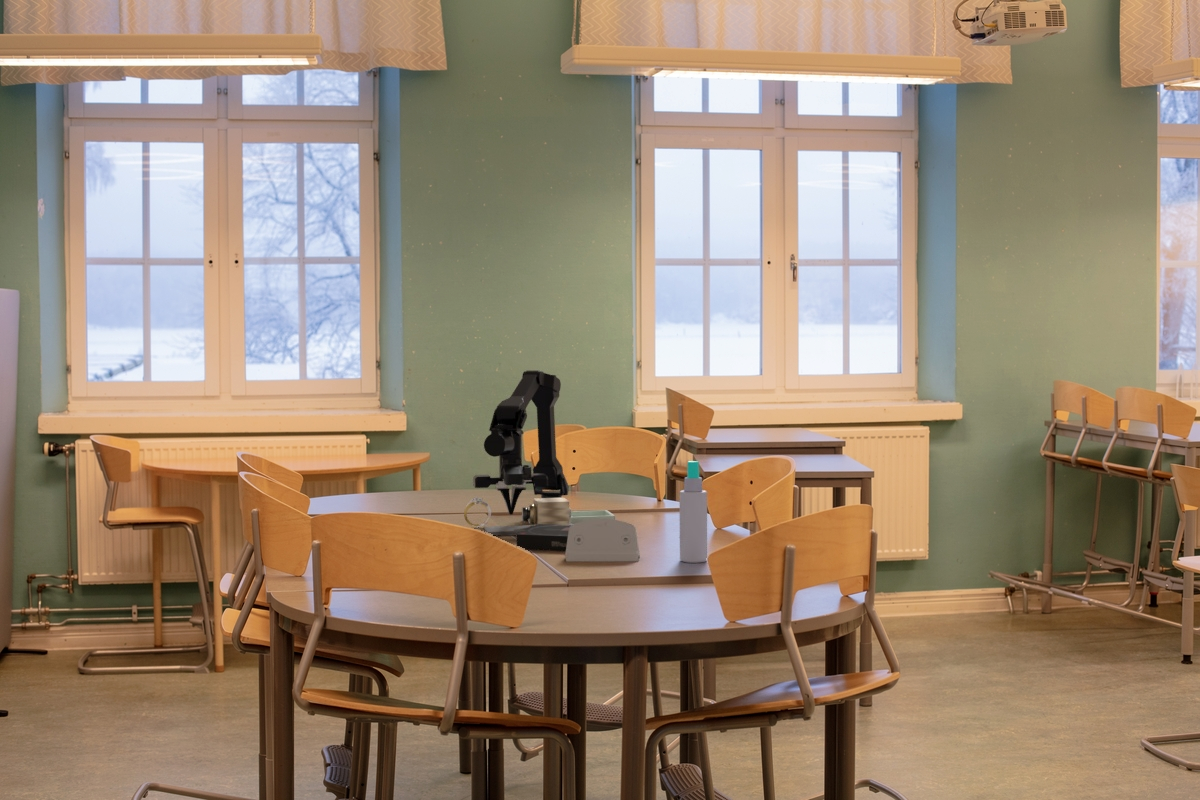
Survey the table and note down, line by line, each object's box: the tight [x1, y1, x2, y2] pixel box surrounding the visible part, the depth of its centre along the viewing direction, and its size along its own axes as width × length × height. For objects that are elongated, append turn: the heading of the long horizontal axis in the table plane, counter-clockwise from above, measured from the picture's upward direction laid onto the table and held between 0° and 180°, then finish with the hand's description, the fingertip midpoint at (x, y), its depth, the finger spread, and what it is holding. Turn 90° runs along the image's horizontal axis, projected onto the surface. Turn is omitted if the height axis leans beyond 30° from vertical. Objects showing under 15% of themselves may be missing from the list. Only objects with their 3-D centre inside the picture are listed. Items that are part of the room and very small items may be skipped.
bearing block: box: [483, 497, 576, 537], centre depth 303 cm, size 26×9×8 cm, turn 101°
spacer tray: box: [569, 509, 616, 524], centre depth 317 cm, size 11×12×2 cm
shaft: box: [521, 503, 572, 525], centre depth 304 cm, size 12×5×5 cm, turn 101°
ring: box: [463, 496, 492, 529], centre depth 310 cm, size 7×3×8 cm, turn 92°
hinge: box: [564, 519, 641, 562], centre depth 265 cm, size 17×5×10 cm, turn 88°
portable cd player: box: [516, 524, 571, 552], centre depth 283 cm, size 16×17×4 cm
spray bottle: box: [679, 460, 708, 564], centre depth 260 cm, size 6×6×22 cm
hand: (510, 514), depth 301 cm, fingers closed
